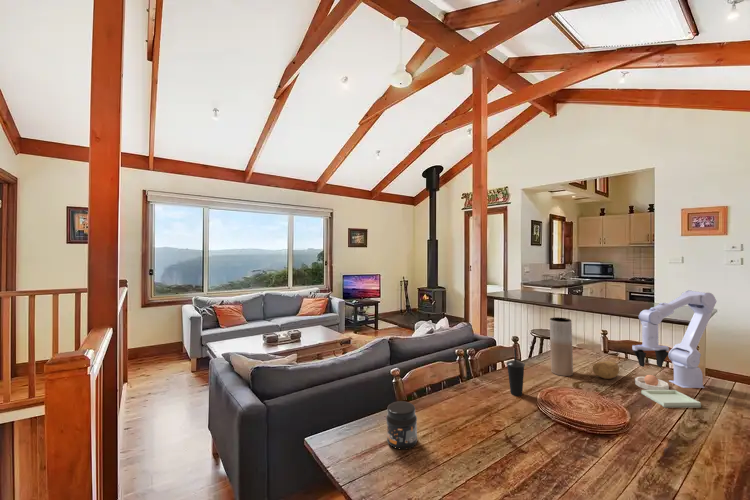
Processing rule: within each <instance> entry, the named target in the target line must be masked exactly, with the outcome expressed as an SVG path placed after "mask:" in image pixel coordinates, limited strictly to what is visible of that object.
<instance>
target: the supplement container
mask: <svg viewBox="0 0 750 500" xmlns="http://www.w3.org/2000/svg"><path fill="white" fill-rule="evenodd" d="M385 418H386V419H385V420H386V442H387V443H388V445H389V444H390V445H391V447H392V446H393V447H396V448H400V449H399V450H401V449H404V450H407V449H406V448H409V449H412V448H413V447H415V446H416V444H417V442H418V425H417V424H418V423H417V421H418V416H417V415H416V407H415V405H414V404H413V403H411V402H409V401H403V400H401V401H399V400H398V401H393V402H391V403H389V404H388V406H387V414H386V417H385ZM390 445H389V446H390ZM414 445H415V446H414ZM393 447H392V448H393ZM411 447H412V448H411ZM396 448H395V449H396Z"/></svg>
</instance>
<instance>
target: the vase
mask: <svg viewBox="0 0 750 500" xmlns="http://www.w3.org/2000/svg"><path fill="white" fill-rule="evenodd" d="M572 325H573V323H572V319H570V318H566V317H559V316H558V317H550V318H549V334H550V335H549V337H550V339H549V341H550V343H549V345H550V348H549V349H550V370H551V373H552V374H555V375H557V376H561V377H570V376H573V374H574V360H573V359H574V358H573V332H572V331H573V329H572Z"/></svg>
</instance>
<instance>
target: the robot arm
mask: <svg viewBox="0 0 750 500" xmlns="http://www.w3.org/2000/svg"><path fill="white" fill-rule="evenodd" d="M716 304H717V299H716V297H715V295H714V294H713V293H712V292H705V291H696V290H695V291H694V290H689V289H688V290H685V291H684V292H682V293H681V294H680V295H679V296H678V297H676V298H674V299H672V300H671V301H669V302H659V303H658V304H657V305H655V306H653V307H650V308H649V309H643V310H642V311H640V312H639V314H638V319H639V321H640V324H641V326H642V327H641V336H642V337H641V338H642V339H641V340H642V344H636V345H635V344H632V346H631V347H632V348H631V349H632V351H633V353H634V354H635V356H636V359H637V361H638V365H639V366H640V367H645V364H646V363H645V359H646V355H647V353H646V352H644V351H654V353H655V359H656V366H658V367H659V368H662V367H663V365H664V362H665V360H666V359H667V357H668V359H669V360H670V361H671V363H672V365H673V380H671V379H670V380H668V382H670V383H672V384H674V385H676V386H678V387H680V388H682V389H683V388H684V389H690V388H691V389H701V388H702V389H705V386H704V384H703V382H704V381H703V379H704V378H703V370H701V368H700V367H699V365H700V363H701V362H700V361H701V360H700V359H701V356H702V354H701V352H700V351H699V350H698V349H697V348H698V345H699V344H700V341H701V339H702V336H703V334H704V332H705V330H706V328H707V326H708V323H709V321H710V319H711V317H712V314H713V310H714V308H715V306H716ZM684 306H688V307H689V309H691V310H692V311H693V316H692V317H691V320H690V321H689V323H688V326H687V327H686V328H687V329H686V330H685V333H684V334H683V335H684V336H683V337H682V339H681V342H680V343H679V342H678V343H675V344H673V347H672V348H671V349H670V347H669V346H667V345H661V344H660V343H659V324H661V322H662V321H663V320H664V319H665V318H666V317H669V316H670V315H673V314H674V312H675V310H677V309H679V308H683V307H684ZM659 344H660V345H659Z"/></svg>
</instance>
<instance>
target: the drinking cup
mask: <svg viewBox="0 0 750 500" xmlns="http://www.w3.org/2000/svg"><path fill="white" fill-rule="evenodd" d="M513 351H514V354H513V355H514V359H511V360H508V361H506V367H507V373H508V382H509V383H508V384H509V389H510V394H511V395H512V396H515V397H522V396H523V392H524V391H523V390H524V389H523V388H524V374H525V365H526V364H525V362H522V361H520V360H517V349H516V348H514V350H513Z"/></svg>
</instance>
